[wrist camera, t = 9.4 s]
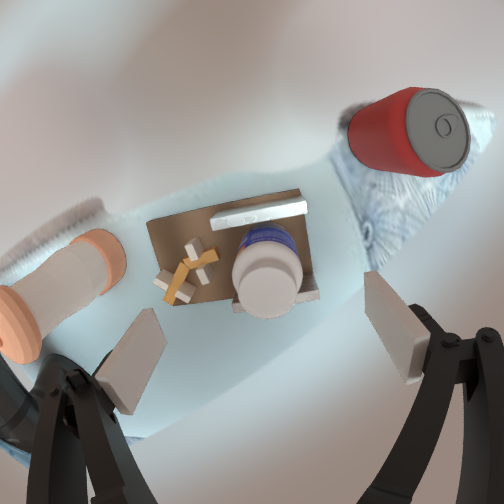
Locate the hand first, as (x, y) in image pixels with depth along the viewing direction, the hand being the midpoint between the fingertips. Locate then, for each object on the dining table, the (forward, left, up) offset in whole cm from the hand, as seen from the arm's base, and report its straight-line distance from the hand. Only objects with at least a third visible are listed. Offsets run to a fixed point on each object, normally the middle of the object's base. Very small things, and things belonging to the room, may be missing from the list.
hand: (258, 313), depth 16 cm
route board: (-4, 0, -13) cm, 13 cm away
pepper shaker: (-20, +2, -13) cm, 24 cm away
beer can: (+13, +9, -13) cm, 21 cm away
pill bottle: (0, 0, -12) cm, 12 cm away
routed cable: (-8, -1, -12) cm, 15 cm away
